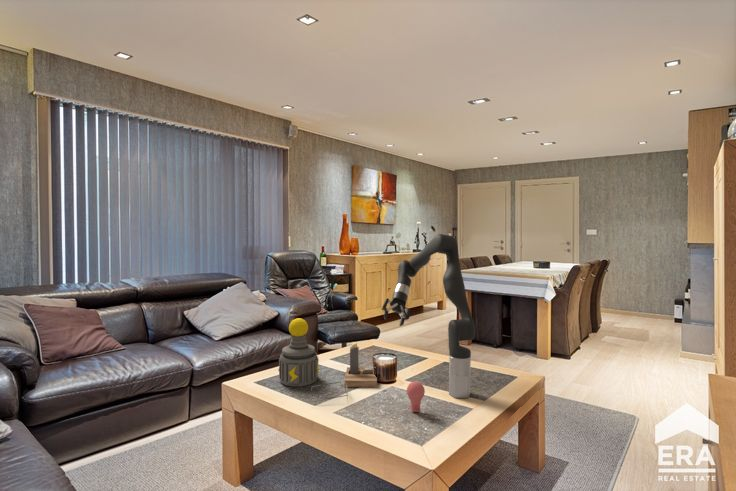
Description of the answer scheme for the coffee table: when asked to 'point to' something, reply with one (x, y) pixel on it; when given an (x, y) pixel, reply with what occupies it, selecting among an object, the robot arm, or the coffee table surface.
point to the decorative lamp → (298, 358)
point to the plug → (354, 359)
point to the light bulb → (415, 395)
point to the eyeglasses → (332, 397)
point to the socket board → (361, 378)
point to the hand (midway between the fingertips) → (393, 322)
